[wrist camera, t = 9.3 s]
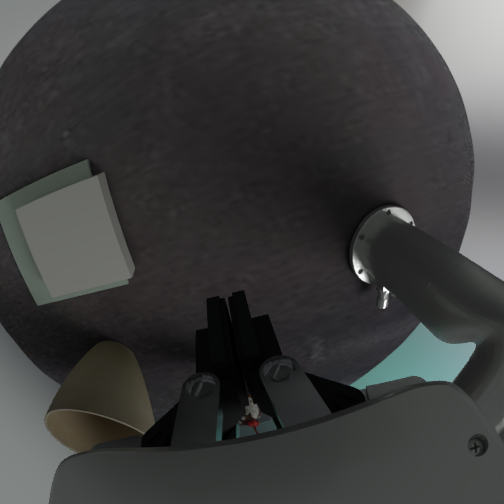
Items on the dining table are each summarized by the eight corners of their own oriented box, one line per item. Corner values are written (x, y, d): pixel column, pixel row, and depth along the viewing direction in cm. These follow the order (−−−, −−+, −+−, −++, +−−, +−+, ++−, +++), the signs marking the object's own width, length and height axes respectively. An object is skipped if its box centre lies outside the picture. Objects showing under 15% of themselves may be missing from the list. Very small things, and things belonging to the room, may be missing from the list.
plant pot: (177, 372, 41) (182, 458, 27) (109, 392, 40) (100, 467, 26) (124, 305, 34) (102, 401, 20) (54, 335, 33) (23, 415, 19)
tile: (131, 277, 29) (52, 297, 28) (135, 266, 32) (59, 286, 30) (97, 175, 24) (15, 209, 22) (104, 171, 26) (26, 203, 25)
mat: (128, 281, 33) (128, 283, 32) (38, 303, 31) (37, 305, 30) (88, 159, 26) (86, 159, 25) (-4, 202, 24) (-6, 203, 23)
